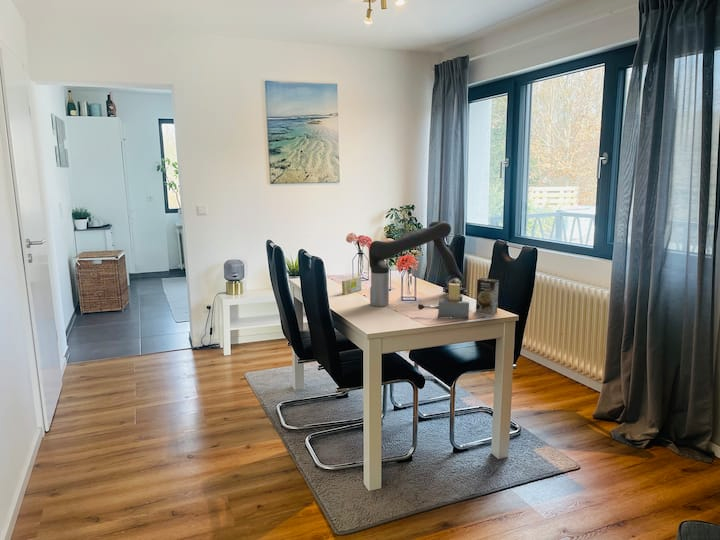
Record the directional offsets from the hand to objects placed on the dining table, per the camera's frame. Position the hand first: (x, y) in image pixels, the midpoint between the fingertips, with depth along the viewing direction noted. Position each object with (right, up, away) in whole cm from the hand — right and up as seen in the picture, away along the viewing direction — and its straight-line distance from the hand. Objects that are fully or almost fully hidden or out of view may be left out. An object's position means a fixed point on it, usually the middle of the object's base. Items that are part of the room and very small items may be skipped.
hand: (454, 293), depth 273 cm
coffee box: (+14, -9, -8) cm, 19 cm away
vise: (-8, -9, -12) cm, 17 cm away
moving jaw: (-2, -8, -6) cm, 11 cm away
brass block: (-3, -10, -14) cm, 17 cm away
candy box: (-53, -1, +37) cm, 64 cm away
